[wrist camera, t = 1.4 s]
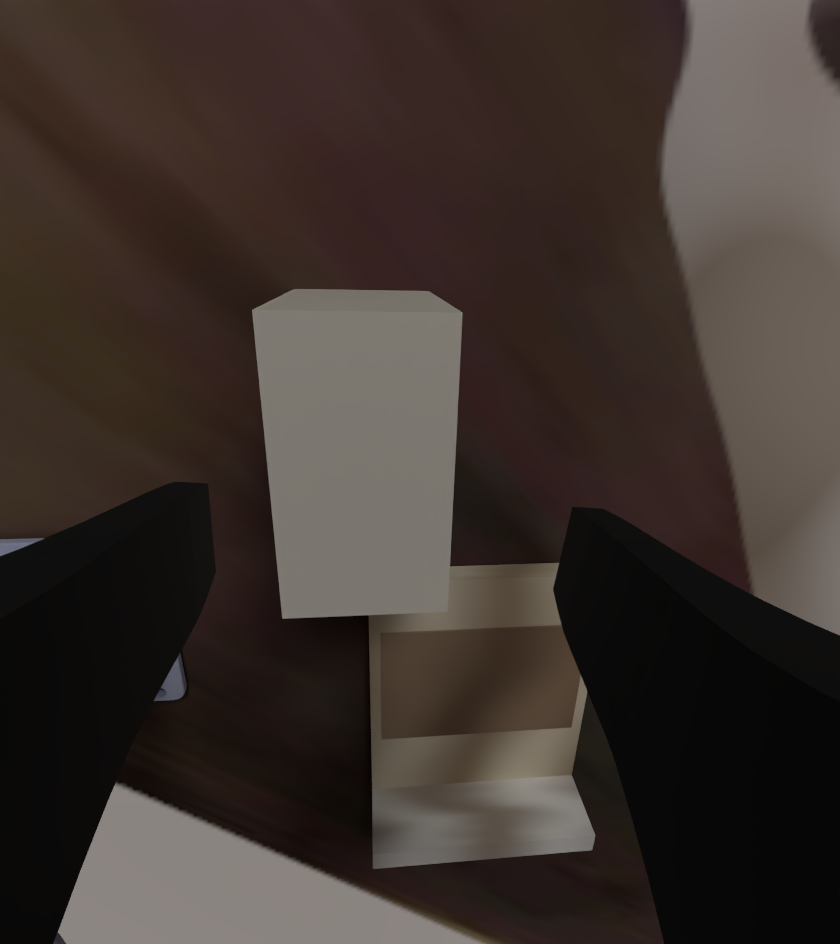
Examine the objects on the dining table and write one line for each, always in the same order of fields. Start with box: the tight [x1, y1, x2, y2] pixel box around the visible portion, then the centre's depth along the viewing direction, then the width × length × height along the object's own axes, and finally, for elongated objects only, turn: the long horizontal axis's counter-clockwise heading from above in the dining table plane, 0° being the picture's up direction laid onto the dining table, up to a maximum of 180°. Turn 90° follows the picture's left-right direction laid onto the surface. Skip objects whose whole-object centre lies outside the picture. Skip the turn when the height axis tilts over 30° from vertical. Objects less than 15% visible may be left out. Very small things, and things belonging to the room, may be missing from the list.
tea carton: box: [252, 289, 462, 619], centre depth 16 cm, size 5×8×7 cm, turn 179°
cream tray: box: [369, 563, 595, 869], centre depth 23 cm, size 10×13×4 cm
